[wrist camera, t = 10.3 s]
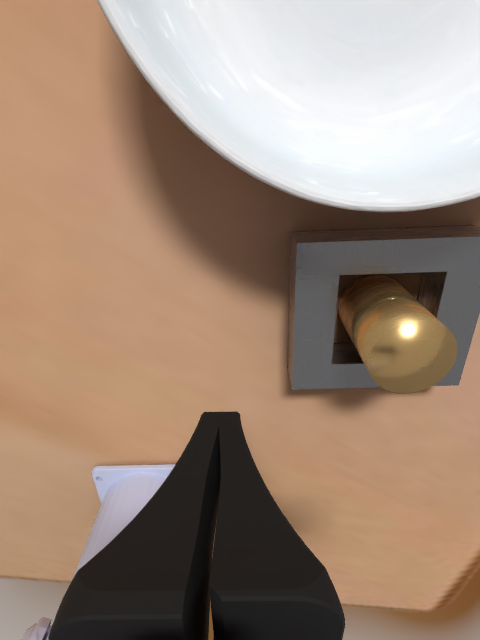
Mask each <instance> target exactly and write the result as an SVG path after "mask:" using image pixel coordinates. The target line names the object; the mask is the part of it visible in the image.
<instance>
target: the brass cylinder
mask: <svg viewBox="0 0 480 640" xmlns="http://www.w3.org/2000/svg"><path fill="white" fill-rule="evenodd" d="M338 313H339V317H340V319H341V321H342V323H343V325H344V327H345V329H346V331H347V332H348V334H349V336H350V338H351V340H352V342H353V344H354V346H355V347H356V349H357V351H358V353H359V355H360V357H361V359H362V360H363V362H364V364H365V366H366V368H367V370H368V372H369V374H370V375H371V377H372V379H373V380H374V382H375V383H376V384H377V385H379V386H380V387H381V388H383V389H385V390H387V391H390V392H394V393H401V394H407V393H415V392H419V391H422V390H425V389H427V388H429V387H431V386H433V385H435V384H436V383H438V382H439V381H440V380H442V379H443V378H444V377H445V376H446V375H447V374H448V373H449V371H450V370H451V368H452V367H453V365H454V363H455V360H456V357H457V349H458V348H457V342H456V339H455V337H454V335H453V334H452V332H451V331H450V330H449V329H448V328H447V327H446V326H444V325H443V324H442V323H441V322H440V321H439V320H438V319H437V318H436V317H435V316H434V315H433V314H431V313H430V312H429V311H428V310H427V309H426V308H425V307H424V306H423V305H422V304H421V303H420V302H419V301H417V300H416V299H415V298H414V297H413V296H412V295H411V294H410V293H409V292H408V291H407V290H406V289H405V288H403V287H402V286H401V285H400V284H399V283H398V282H397V281H396V280H395V279H393V278H391V277H389V276H386V275H382V274H371V275H366V276H363V277H361V278H359V279H357V280H355V281H354V282H352V283H351V284H350V285H349V286H348V287H347V288H346V289H345V290H344V292H343V293H342V295H341V297H340V300H339V304H338Z"/></svg>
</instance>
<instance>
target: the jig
mask: <svg viewBox="0 0 480 640" xmlns="http://www.w3.org/2000/svg"><path fill="white" fill-rule="evenodd" d="M417 272H423V275H422V280H421V285H420V290H419V295H418V300H417V301H419V302H420V303H421V304H422V305H423V306H424V307H425V308H426V309H427V310H428V311H429V312H430V313H431V314H433V315H434V316H435V317H436V318H437V319H438V320H439V321H440V322H441V323H442V324H443V325H444V326H446V327H447V328H448V329H449V330H450V331H451V332H452V334H453V335H454V337H455V339H456V342H457V348H458V349H457V357H456V360H455V363H454V365H453V367H452V368H451V370H450V371H449V373H448V374H447V375H446V376H445V377H444V378H443V379H442V380H440V381H439V382H438V383H436V384H435V385H433V386H448V385H459V382H460V379H461V375H462V372H463V368H464V365H465V361H466V358H467V354H468V351H469V347H470V344H471V340H472V337H473V334H474V330H475V327H476V323H477V320H478V316H479V313H480V228H479V227H476V226H474V225H471V226H444V227H417V228H390V229H362V230H335V231H308V232H291V250H290V288H289V327H288V366H287V368H288V373H289V378H290V383H291V388H292V390H303V389H339V388H376V387H380V386H379V385H377V384H376V383H375V382H374V380H373V379H372V377H371V375H370V374H369V372H368V370H367V368H366V366H365V364H364V362H363V360H362V359H361V357H360V355H359V353H358V351H357V349H356V347H355V346H354V344H353V343H333V341H334V330H335V319H336V308H337V297H338V286H339V275H359V274H388V273H417Z"/></svg>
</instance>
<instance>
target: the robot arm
mask: <svg viewBox="0 0 480 640" xmlns="http://www.w3.org/2000/svg"><path fill="white" fill-rule="evenodd" d="M92 476H93V480H94V483H95V486H96V489H97V492H98V495H99V498H100V502H101V507H100V509H99V512H98V514H97V517H96V519H95V522H94V525H93V527H92V530H91V532H90V535H89V538H88V540H87V543H86V545H85V548H84V550H83V553H82V556H81V558H80V561H79V563H78V566H77V569H76V571H75V574H74V576H73V579H72V581H71V584H70V585H69V588H68V590H67V592H66V594H65V596H64V597H63V600H62V601H61V604H60V606H59V609H58V611H57V614H56V617H55V619H54V622H53V624H52V626H50V623H51V619H49V618H45V617H43V618H41V619H40V620H39V621H38V623H36V624H34V625H33V626H31V627H30V628H29V629H27V631H26V632H25V634H24V636H23V638H22V639H21V640H208V632H209V610H210V601H211V610H212V620H213V630H214V640H342V638H343V633H344V628H345V618H344V613H343V610H342V607H341V603H340V600H339V598H338V595H337V593H336V590H335V588H334V586H333V583H332V581H331V579H330V577H329V575H328V573H327V570H326V568H325V567H324V566H323V565H322V563H321V562H320V561H319V560H318V559H317V558H316V557H315V555H314V554H313V553H312V552H311V551H310V549H309V548H308V547H307V546H306V545H305V543H304V542H303V541H302V539H301V538H300V537H299V536H298V534H297V533H296V532H295V530H294V529H293V528H292V526H291V525H290V523H289V522H288V520H287V519H286V517H285V516H284V515H283V513H282V512H281V510H280V509H279V507H278V506H277V504H276V502H275V501H274V499H273V497H272V496H271V494H270V492H269V490H268V489H267V487H266V485H265V483H264V481H263V479H262V477H261V476H260V473H259V471H258V469H257V467H256V465H255V463H254V460H253V458H252V456H251V453H250V451H249V448H248V445H247V443H246V440H245V437H244V433H243V430H242V426H241V420H240V414H239V413H238V412H204V413H203V414H202V415H201V418H200V420H199V423H198V425H197V427H196V429H195V432H194V433H193V435H192V437H191V439H190V441H189V443H188V445H187V446H186V448H185V450H184V452H183V454H182V455H181V457H180V459H179V460H178V462H177V463H176V464H166V465H123V466H96V467H94V468H93V470H92ZM217 512H218V514H217ZM216 519H217V524H216ZM215 526H216V533H215ZM214 533H215V542H214V551H213V541H214ZM212 551H213V559H212Z"/></svg>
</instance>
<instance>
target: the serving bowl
mask: <svg viewBox="0 0 480 640" xmlns="http://www.w3.org/2000/svg"><path fill="white" fill-rule="evenodd" d="M97 1H98V3H99V5H100V7H101V9H102V11H103V13H104V15H105V16H106V18H107V20H108V22H109V24H110V26H111V28H112V30H113V31H114V33H115V34H116V36H117V38H118V39H119V41H120V42H121V44H122V45H123V47H124V49H125V50H126V52H127V53H128V55H129V56H130V58H131V60H132V61H133V63H134V64H135V66H136V67H137V68H138V70H139V71H140V73H141V74H142V75H143V77H144V78H145V80H146V81H147V82H148V83H149V85H150V86H151V87H152V88H153V90H154V91H155V92H156V93H157V95H158V96H159V97H160V98H161V100H162V101H163V102H164V103H165V104H166V105H167V106H168V108H169V109H170V110H171V111H172V112H173V113H174V114H175V115H176V116H177V117H178V119H179V120H180V121H181V122H182V123H183V124H184V125H185V126H186V127H187V128H188V129H189V130H190V131H192V132H193V133H194V134H195V135H196V136H197V137H198V138H199V139H201V140H202V141H203V142H204V143H205V144H206V145H208V146H209V147H210V148H211V149H213V150H214V151H215V152H217V153H218V154H219V155H220V156H222V157H223V158H224V159H226V160H227V161H229V162H230V163H232V164H233V165H235V166H236V167H238V168H239V169H241V170H242V171H244V172H246V173H247V174H249V175H251V176H252V177H254V178H256V179H258V180H259V181H261V182H263V183H266V184H268V185H270V186H272V187H274V188H276V189H279V190H281V191H283V192H285V193H287V194H290V195H292V196H295V197H298V198H301V199H305V200H308V201H311V202H314V203H317V204H322V205H327V206H332V207H336V208H341V209H348V210H357V211H370V212H408V211H417V210H425V209H431V208H437V207H442V206H447V205H452V204H457V203H460V202H464V201H468V200H472V199H475V198H478V197H480V0H97Z"/></svg>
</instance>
